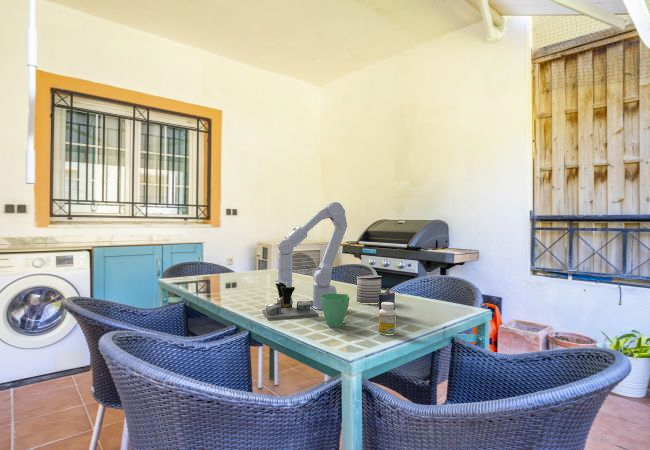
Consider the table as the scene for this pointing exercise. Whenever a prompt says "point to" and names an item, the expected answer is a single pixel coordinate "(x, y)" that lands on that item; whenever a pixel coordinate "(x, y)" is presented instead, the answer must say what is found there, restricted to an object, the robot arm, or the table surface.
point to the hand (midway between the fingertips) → (284, 302)
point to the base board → (290, 314)
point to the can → (368, 289)
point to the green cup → (335, 308)
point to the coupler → (280, 300)
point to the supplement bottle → (387, 318)
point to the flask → (387, 298)
